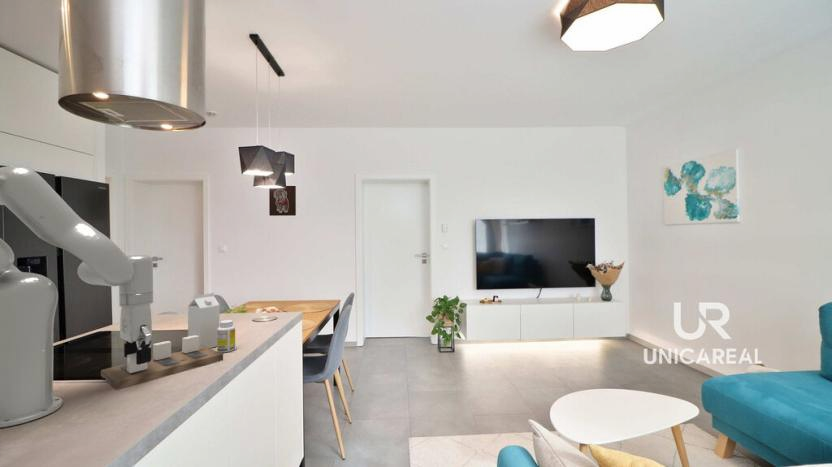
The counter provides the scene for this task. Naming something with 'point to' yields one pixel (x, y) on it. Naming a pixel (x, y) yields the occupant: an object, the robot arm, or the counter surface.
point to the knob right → (190, 344)
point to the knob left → (134, 364)
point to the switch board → (161, 367)
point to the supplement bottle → (226, 336)
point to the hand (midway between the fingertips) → (137, 359)
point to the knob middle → (161, 350)
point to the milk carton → (204, 319)
